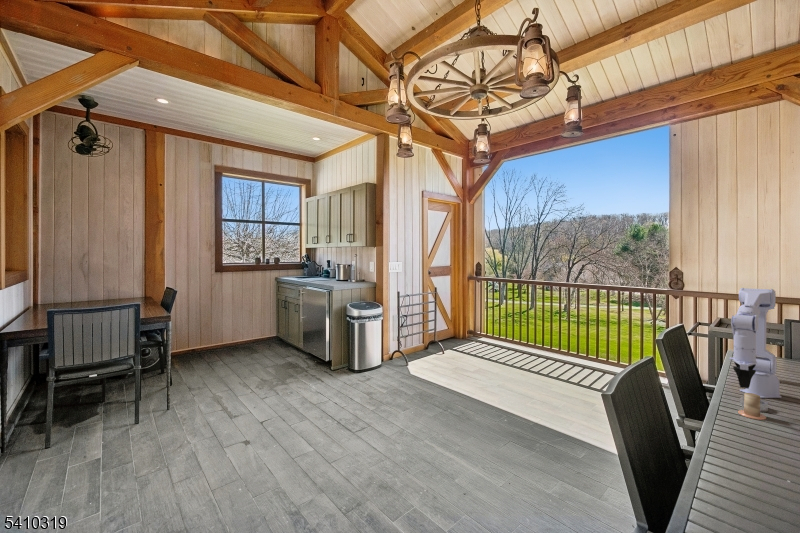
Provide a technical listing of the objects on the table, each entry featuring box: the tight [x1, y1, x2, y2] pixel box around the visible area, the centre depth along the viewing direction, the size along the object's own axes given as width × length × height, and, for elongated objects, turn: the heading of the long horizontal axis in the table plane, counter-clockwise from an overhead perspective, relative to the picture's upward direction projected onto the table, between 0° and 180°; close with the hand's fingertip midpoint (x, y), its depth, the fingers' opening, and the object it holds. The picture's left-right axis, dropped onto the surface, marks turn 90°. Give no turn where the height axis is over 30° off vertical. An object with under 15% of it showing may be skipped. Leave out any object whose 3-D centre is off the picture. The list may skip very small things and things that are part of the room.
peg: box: [743, 392, 761, 417], centre depth 121 cm, size 4×4×7 cm
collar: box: [739, 396, 769, 413], centre depth 128 cm, size 7×7×2 cm
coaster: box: [737, 409, 767, 421], centre depth 121 cm, size 7×7×1 cm
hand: (744, 384), depth 123 cm, fingers open, 7 cm apart
